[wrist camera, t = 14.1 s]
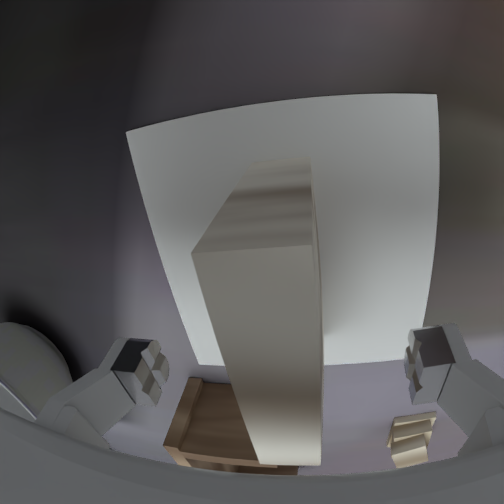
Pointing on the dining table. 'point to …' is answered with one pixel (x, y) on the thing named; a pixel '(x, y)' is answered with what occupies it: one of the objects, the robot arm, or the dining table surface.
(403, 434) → the offcut mid
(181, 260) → the mat
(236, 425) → the frame
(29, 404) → the teacup
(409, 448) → the offcut top
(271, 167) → the cream rectangular block
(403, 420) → the offcut low
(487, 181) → the dining table surface
